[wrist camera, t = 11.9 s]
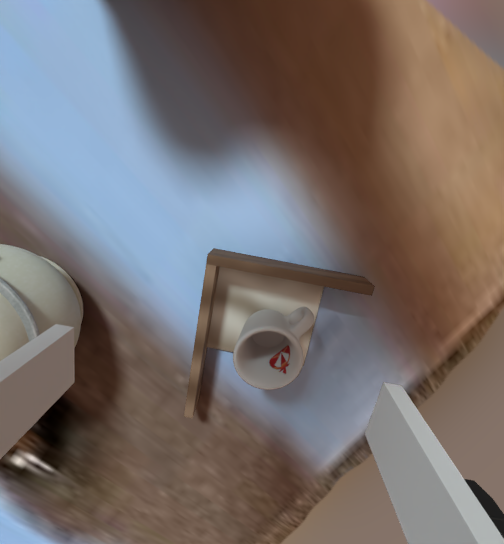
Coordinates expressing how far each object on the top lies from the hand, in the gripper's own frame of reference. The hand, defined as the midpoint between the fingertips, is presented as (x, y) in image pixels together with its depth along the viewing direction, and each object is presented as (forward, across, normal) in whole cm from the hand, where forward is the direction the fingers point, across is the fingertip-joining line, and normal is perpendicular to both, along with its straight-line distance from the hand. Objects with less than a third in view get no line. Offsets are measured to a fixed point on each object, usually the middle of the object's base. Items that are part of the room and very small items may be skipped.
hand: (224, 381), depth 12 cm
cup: (+26, +5, -10) cm, 28 cm away
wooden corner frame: (+26, +5, -13) cm, 30 cm away
